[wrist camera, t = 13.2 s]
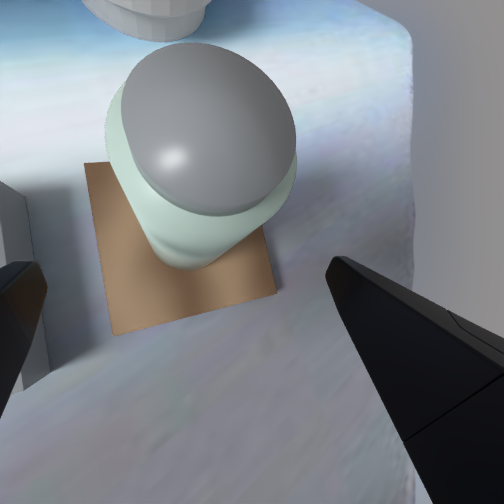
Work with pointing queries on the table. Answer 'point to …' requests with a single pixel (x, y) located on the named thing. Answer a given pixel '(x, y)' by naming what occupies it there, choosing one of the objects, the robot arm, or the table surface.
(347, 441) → the table surface
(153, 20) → the flag stand
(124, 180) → the grey-lidded mint jar
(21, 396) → the table surface
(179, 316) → the walnut pad
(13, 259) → the grey square tray
